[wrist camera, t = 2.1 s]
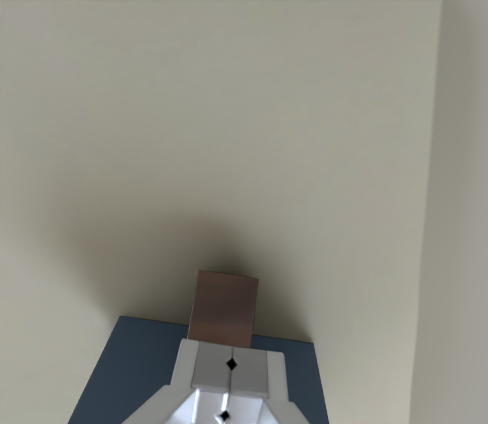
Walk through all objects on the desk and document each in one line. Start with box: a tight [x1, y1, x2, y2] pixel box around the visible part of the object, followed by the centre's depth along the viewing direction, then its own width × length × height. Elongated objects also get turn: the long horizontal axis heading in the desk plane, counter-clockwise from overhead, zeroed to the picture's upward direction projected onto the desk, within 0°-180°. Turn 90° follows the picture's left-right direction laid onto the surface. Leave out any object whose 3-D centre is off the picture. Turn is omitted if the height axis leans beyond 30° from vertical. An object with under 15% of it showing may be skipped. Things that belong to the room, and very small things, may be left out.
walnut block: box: [187, 270, 258, 348], centre depth 25 cm, size 7×4×7 cm, turn 171°
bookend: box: [68, 316, 329, 424], centre depth 27 cm, size 8×16×10 cm, turn 81°
